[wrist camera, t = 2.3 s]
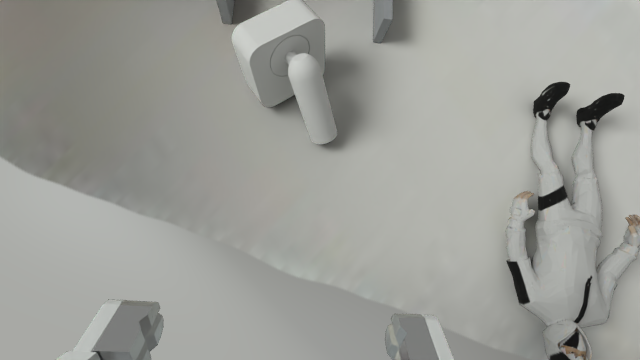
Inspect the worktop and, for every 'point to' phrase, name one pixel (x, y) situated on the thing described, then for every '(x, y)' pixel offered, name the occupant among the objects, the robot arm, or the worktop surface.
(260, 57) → the wall hook
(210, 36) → the worktop surface
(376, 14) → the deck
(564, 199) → the figurine
